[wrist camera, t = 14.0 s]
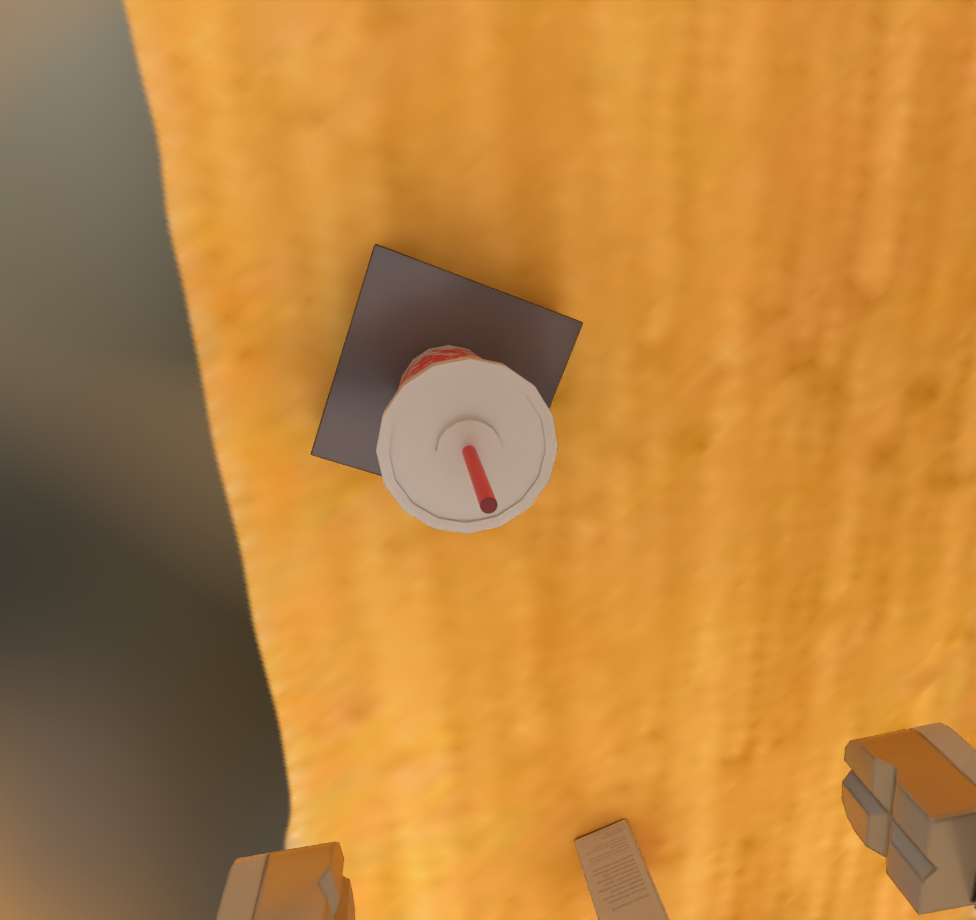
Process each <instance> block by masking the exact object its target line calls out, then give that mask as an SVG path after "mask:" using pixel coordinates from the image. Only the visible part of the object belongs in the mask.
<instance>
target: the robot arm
mask: <svg viewBox="0 0 976 920" xmlns="http://www.w3.org/2000/svg"><path fill="white" fill-rule="evenodd" d="M844 761H845V762H846V763H847V764H848V765H849V767H850V768H851V769H852V770H851V771H850V772H849V774H848V775H847V776H846V777H845V779H844V780H843V781H842V801H843V805H844V808H845V812H846V815H847V818H848V820H849V821H850V823H851V825H852V827H853V829H854V831H855V832H856V834H857V835H858V836H859V838H860V839H861V840H862V842H863V843H864V844H865V846H866V847H868V848H870V849H872V850H873V851H875V852H877V853H879V854H880V855H882V856H884V857H885V858H886V873H887V875H888V876H889V877H890V878H891V880H892V881H893V882H894V884H895V885H896V886H897V887H898V889H899V890H900V891H901V893H902V894H903V895H904V897H905V898H906V899H907V900H908V902H909V903H910V904H911V906H912V907H913V908H914V909H915V911H916V912H917V913H918V915H921V914H926V913H932V912H937V911H942V910H948V909H953V908H959V907H964V906H970V905H975V907H974V908H975V909H976V750H975V749H974V748H973V747H972V746H971V745H970V744H968V743H967V742H966V741H965V740H964V739H963V738H962V737H960V736H959V735H958V734H957V733H956V732H955V731H954V730H953V729H951V728H950V727H949V726H946V725H944V724H942V723H935V724H930V725H925V726H920V727H915V728H910V729H908V730H907V729H903V730H898V731H893V732H889V733H884V734H879V735H874V736H869V737H865V738H860V739H855V740H850V741H849V743H848V744H847V746H846V747H845V755H844ZM343 864H344V857H343V853H342V850H341V847H340V843H339V842H330V843H324V844H318V845H312V846H306V847H300V848H294V849H288V850H282V851H276V852H271V853H267V854H261V855H255V856H250V857H244V858H238V859H236V860H235V862H234V864H233V865H232V867H231V869H230V870H229V874H228V878H227V881H226V885H225V888H224V892H223V895H222V899H221V902H220V906H219V910H218V913H217V917H216V920H355V906H354V899H353V892H352V888H351V884H350V880H349V879H347V878H346V877H344V876H343Z"/></svg>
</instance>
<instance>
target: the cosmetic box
mask: <svg viewBox="0 0 976 920" xmlns="http://www.w3.org/2000/svg"><path fill="white" fill-rule="evenodd" d="M575 846H576V850H577V853H578V856H579V859H580V862H581V866H582V869H583V872H584V875H585V879H586V882H587V885H588V888H589V891H590V895H591V898H592V901H593V904H594V907H595V910H596V914H597V917H598V920H670V919H669V917H668V914H667V912H666V910H665V907H664V905H663V903H662V900H661V898H660V895H659V893H658V891H657V889H656V886H655V884H654V882H653V879H652V877H651V875H650V872H649V870H648V868H647V866H646V863H645V861H644V859H643V856H642V854H641V852H640V849H639V847H638V845H637V843H636V840H635V838H634V835H633V833H632V831H631V828H630V826H629V824H628V822H627V820H621V821H619V822H617V823H614V824H612V825H610V826H608V827H605V828H603V829H600V830H598V831H596V832H593V833H591V834H588V835H586V836H583V837H581V838H579V839H577V840H575Z"/></svg>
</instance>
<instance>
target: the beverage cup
mask: <svg viewBox="0 0 976 920" xmlns="http://www.w3.org/2000/svg"><path fill="white" fill-rule="evenodd" d="M557 449H558V448H557V441H556V434H555V427H554V420H553V415H552V413H551V412H550V410H549V408H548V407H547V405H546V404H545V402H544V400H543V399H542V397H541V395H540V394H539V392H538V391H537V389H536V387H535V386H534V385H533V384H531V383H530V382H528V381H527V380H526V379H524V378H523V377H521V376H520V375H518V374H517V373H516V372H514V371H513V370H511V369H510V368H508V367H507V366H506V365H504V364H502V363H499V362H494V361H489V360H484V359H482V358H481V357H479V356H478V355H476V354H475V353H473V352H472V351H470V350H469V349H466V348H461V347H457V346H452V345H445V346H440V347H435V348H430V349H428V350H426V351H425V352H423V353H422V354H420V355H419V356H417V357H416V358H414V359H413V360H412V362H411V363H410V365H409V366H408V368H407V369H406V371H405V372H404V374H403V375H402V378H401V381H400V384H399V388H398V391H397V392H396V394H395V395H394V397H393V398H392V400H391V401H390V403H389V404H388V406H387V407H386V409H385V410H384V413H383V416H382V421H381V427H380V432H379V437H378V443H377V448H376V453H377V457H378V461H379V465H380V470H381V474H382V478H383V482H384V485H385V486H386V488H387V489H388V490H389V492H390V493H391V494H392V496H393V497H394V498H395V500H396V501H397V502H398V504H399V505H400V506H401V508H402V509H403V510H404V512H406V513H408V514H409V515H411V516H413V517H414V518H416V519H418V520H420V521H421V522H423V523H425V524H426V525H428V526H430V527H432V528H433V529H439V530H446V531H452V532H459V533H465V534H468V533H473V532H478V531H482V530H487V529H492V528H497V527H501V526H502V525H504V524H505V523H507V522H508V521H510V520H512V519H513V518H515V517H516V516H518V515H519V514H521V513H523V512H524V511H526V510H527V509H529V508H530V506H531V505H532V504H533V502H534V501H535V500H536V498H537V497H538V496H539V494H540V493H541V491H542V490H543V489H544V487H545V486H546V485H547V483H548V482H549V479H550V476H551V472H552V468H553V464H554V461H555V457H556V453H557Z"/></svg>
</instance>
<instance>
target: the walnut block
mask: <svg viewBox="0 0 976 920" xmlns="http://www.w3.org/2000/svg"><path fill="white" fill-rule="evenodd" d="M582 324H583V322H581V321H578V320H576V319H573V318H570V317H568V316H565V315H562V314H560V313H557V312H555V311H552V310H549V309H547V308H544V307H541V306H539V305H536V304H533V303H531V302H528V301H525V300H523V299H520V298H518V297H515V296H512V295H510V294H507V293H504V292H502V291H499V290H496V289H494V288H491V287H489V286H486V285H483V284H481V283H478V282H475V281H473V280H470V279H467V278H465V277H462V276H460V275H457V274H454V273H452V272H449V271H446V270H444V269H441V268H438V267H436V266H433V265H431V264H428V263H425V262H423V261H420V260H417V259H415V258H412V257H409V256H407V255H404V254H401V253H399V252H396V251H394V250H391V249H388V248H386V247H383V246H380V245H378V244H375V245H374V248H373V251H372V254H371V258H370V261H369V264H368V267H367V271H366V274H365V277H364V281H363V284H362V287H361V290H360V294H359V297H358V300H357V304H356V307H355V310H354V313H353V317H352V320H351V323H350V326H349V330H348V333H347V336H346V340H345V343H344V346H343V349H342V353H341V356H340V359H339V363H338V366H337V369H336V372H335V376H334V379H333V382H332V386H331V389H330V392H329V395H328V399H327V402H326V405H325V408H324V412H323V415H322V418H321V422H320V425H319V428H318V431H317V435H316V438H315V441H314V445H313V448H312V451H311V455H313V456H316V457H320V458H323V459H326V460H330V461H333V462H336V463H340V464H343V465H347V466H350V467H353V468H357V469H360V470H363V471H367V472H370V473H374V474H377V475H380V476H382V474H381V470H380V465H379V461H378V457H377V453H376V448H377V443H378V437H379V432H380V427H381V421H382V416H383V413H384V410H385V409H386V407H387V406H388V404H389V403H390V401H391V400H392V398H393V397H394V395H395V394H396V392H397V391H398V388H399V384H400V381H401V378H402V375H403V374H404V372H405V371H406V369H407V368H408V366H409V365H410V363H411V362H412V360H413V359H414V358H416V357H417V356H419V355H420V354H422V353H423V352H425V351H426V350H428V349H430V348H435V347H440V346H445V345H452V346H457V347H461V348H466V349H469V350H470V351H472V352H473V353H475V354H476V355H478V356H479V357H481V358H482V359H484V360H489V361H494V362H499V363H502V364H504V365H506V366H507V367H508V368H510V369H511V370H513V371H514V372H516V373H517V374H518V375H520V376H521V377H523V378H524V379H526V380H527V381H528V382H530V383H531V384H533V385H534V386H535V387H536V389H537V391H538V392H539V394H540V395H541V397H542V399H543V400H544V402H545V404H546V405H547V407H548V408H550V405H551V403H552V400H553V398H554V395H555V393H556V390H557V388H558V385H559V383H560V380H561V377H562V375H563V372H564V370H565V367H566V365H567V362H568V360H569V357H570V355H571V352H572V350H573V347H574V345H575V342H576V340H577V337H578V335H579V332H580V329H581V327H582Z"/></svg>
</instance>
